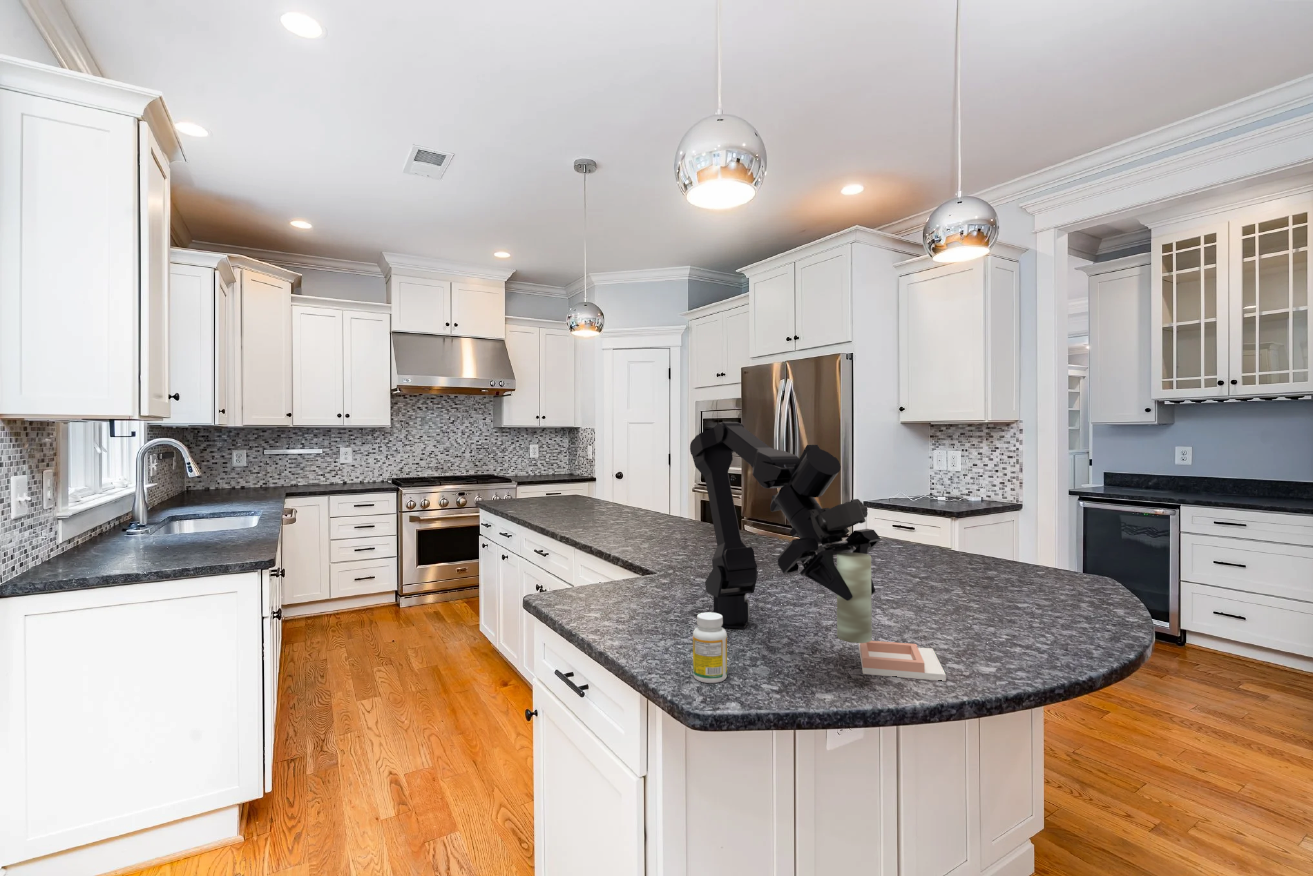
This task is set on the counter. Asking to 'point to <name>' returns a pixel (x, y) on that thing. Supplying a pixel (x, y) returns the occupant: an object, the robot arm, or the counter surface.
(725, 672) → the supplement bottle
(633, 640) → the counter surface
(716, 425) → the robot arm
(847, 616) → the post
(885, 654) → the board
